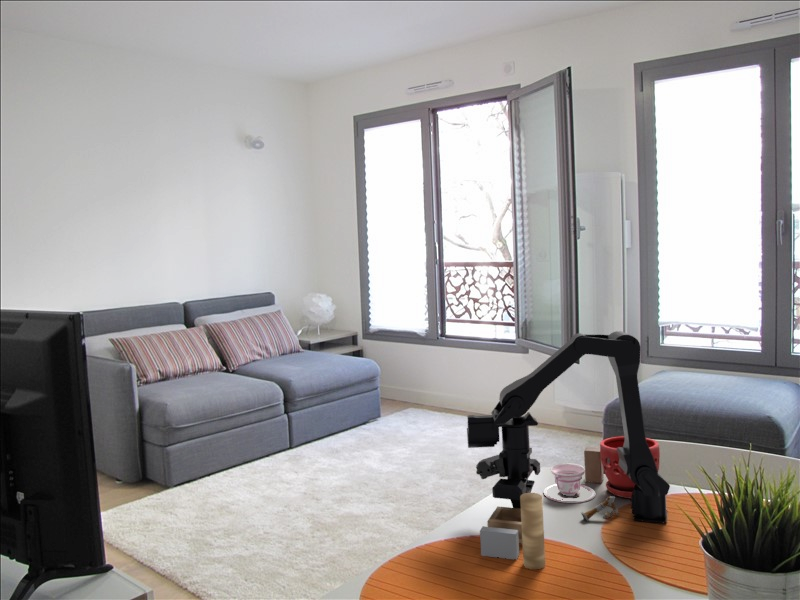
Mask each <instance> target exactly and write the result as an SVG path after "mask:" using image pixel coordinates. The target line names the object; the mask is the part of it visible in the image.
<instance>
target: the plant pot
mask: <svg viewBox="0 0 800 600" xmlns="http://www.w3.org/2000/svg"><path fill="white" fill-rule="evenodd" d="M624 440H625V437H624V435H622V436H613V437H609V438H605V439H603V440H601V441H600V443H599V447H600V453H601V461H602V465H603V473H604V475H605V478H606V479H607V481H606V483H605V487H606V489H607V490H608V492H609V493H611V494H613V495H614V496H618V497H619V498H624V499H625V498H626V499H631V494H632V492H634V486H635V483H633V482H632V480H631V479H630V478H629V477H628V475H627V474H626V473H625V472H624V471H623V469H622V468H621V467H620V466H619V465H618V463H619V455H618V452H617V447H623V445H624ZM646 441H647V444H648V446H649V448H650V451H651V453H652V455H653V458H654V461H655V464H656V467H657V470H658V472H660V471H659V470H660V457H661V456H660V455H661V454H660V453H661V452H660V444H659V442H658V441H656V440H654V439H652V438H648V437H646ZM608 459H609V462H608Z"/></svg>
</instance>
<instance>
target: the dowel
mask: <svg viewBox="0 0 800 600" xmlns="http://www.w3.org/2000/svg"><path fill="white" fill-rule="evenodd" d="M520 502H521V523H522V544H521V545H522V563H523V564H524V565H523V567H524V566H525V568H526V567H527V568H526V569H528V568H530V569H529V570H532V569H539V570H542V569H544V568H545V567H546V552H545V551H546V550H545V549H546V548H545V530H544V527H545V526H544V510H543V509H544V507H543V506H544V505H543V504H544V503H543V495H542V494H540V493H538V492H531V493H524V494H522V495H521V496H520ZM543 567H544V568H543ZM541 568H542V569H541Z"/></svg>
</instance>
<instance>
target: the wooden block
mask: <svg viewBox="0 0 800 600" xmlns="http://www.w3.org/2000/svg"><path fill="white" fill-rule="evenodd" d="M583 456H584V457H583V458H584V459H583V460H584V467H585V473H584V481H585V482H586V483H593V482H594V484H596V483H597V484H602V483H603V479H604V477H605V476H604V475H605V472H604V469H603V465H602V461H601V453H600V446H586V447H585V449H584V450H583Z"/></svg>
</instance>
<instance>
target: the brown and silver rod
mask: <svg viewBox="0 0 800 600" xmlns="http://www.w3.org/2000/svg"><path fill="white" fill-rule="evenodd" d="M615 500H616V497H615V495H614V496H611V495H610V496H607V497H606V499H605V500H604V501H602V502H600V503H599V504H597V505H596V506H594V508H592V509H590V510H588V511H585V512H583V511H581V512H580V515H581V516H582V517H583V520H585V521H586V522H587V523H589V522H590V519H591V518H592V517H593V516H594V515H596V514H597V513H600V512H601V511H602V510H604V509H605V507H608V508H611V509H612V510H607V511H606V512H604V513H603V515H602V518H603V519H609V518H610V517H613V516H612V515H613V514H614V513H615V515H617V516H619V514H620V513H619V510H618V509H617V507H616V506H615V504H614V502H615ZM608 517H609V518H608Z"/></svg>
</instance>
